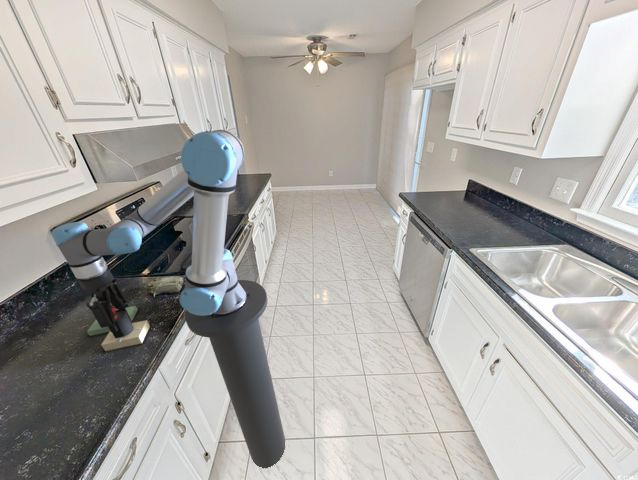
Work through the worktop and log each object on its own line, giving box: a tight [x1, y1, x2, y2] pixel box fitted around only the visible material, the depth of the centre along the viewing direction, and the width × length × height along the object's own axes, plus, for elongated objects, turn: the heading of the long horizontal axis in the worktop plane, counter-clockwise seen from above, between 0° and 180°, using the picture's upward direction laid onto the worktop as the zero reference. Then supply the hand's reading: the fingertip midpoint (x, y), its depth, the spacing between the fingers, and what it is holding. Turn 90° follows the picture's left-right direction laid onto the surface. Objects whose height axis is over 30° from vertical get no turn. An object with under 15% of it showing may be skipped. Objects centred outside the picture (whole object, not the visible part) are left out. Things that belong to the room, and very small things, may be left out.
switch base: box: [86, 305, 139, 337], centre depth 94 cm, size 12×10×4 cm
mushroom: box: [145, 275, 184, 298], centre depth 111 cm, size 14×10×5 cm, turn 98°
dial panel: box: [100, 319, 151, 352], centre depth 87 cm, size 11×9×3 cm
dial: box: [113, 311, 134, 336], centre depth 85 cm, size 5×5×7 cm
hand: (124, 330), depth 86 cm, fingers closed on dial, 5 cm apart
